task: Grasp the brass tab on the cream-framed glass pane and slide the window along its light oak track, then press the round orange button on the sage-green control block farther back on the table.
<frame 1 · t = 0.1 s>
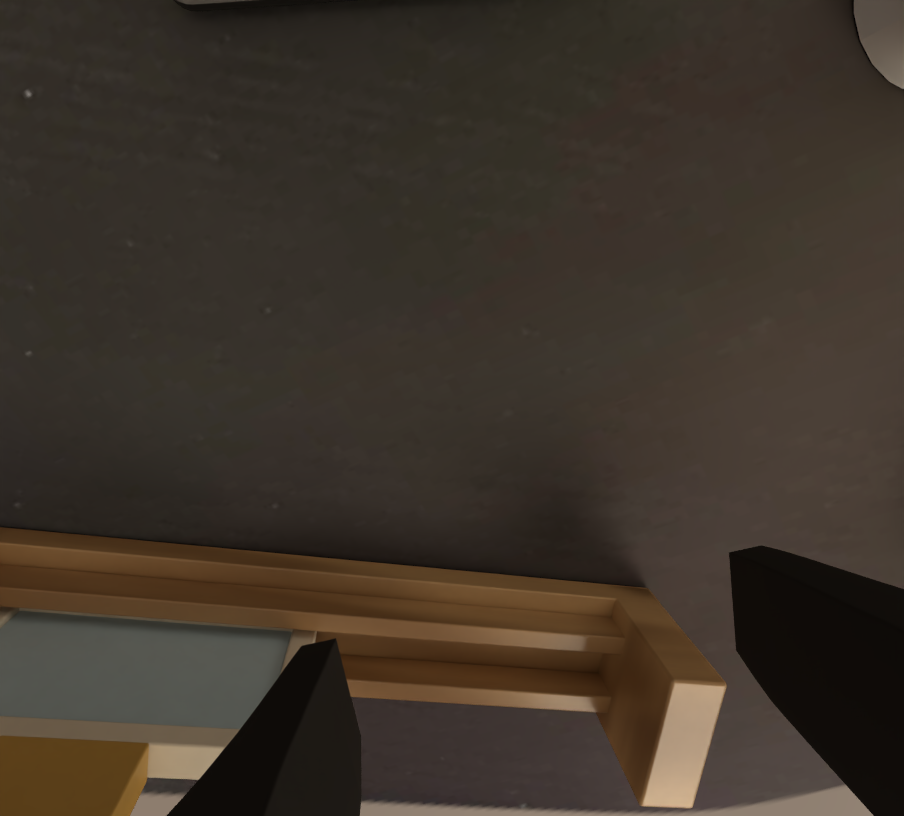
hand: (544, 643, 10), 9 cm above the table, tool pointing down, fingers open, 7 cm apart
window frame: (321, 613, 19), on the table
window pane: (97, 723, 14), point 5 cm above the table, slide at 0.0 cm
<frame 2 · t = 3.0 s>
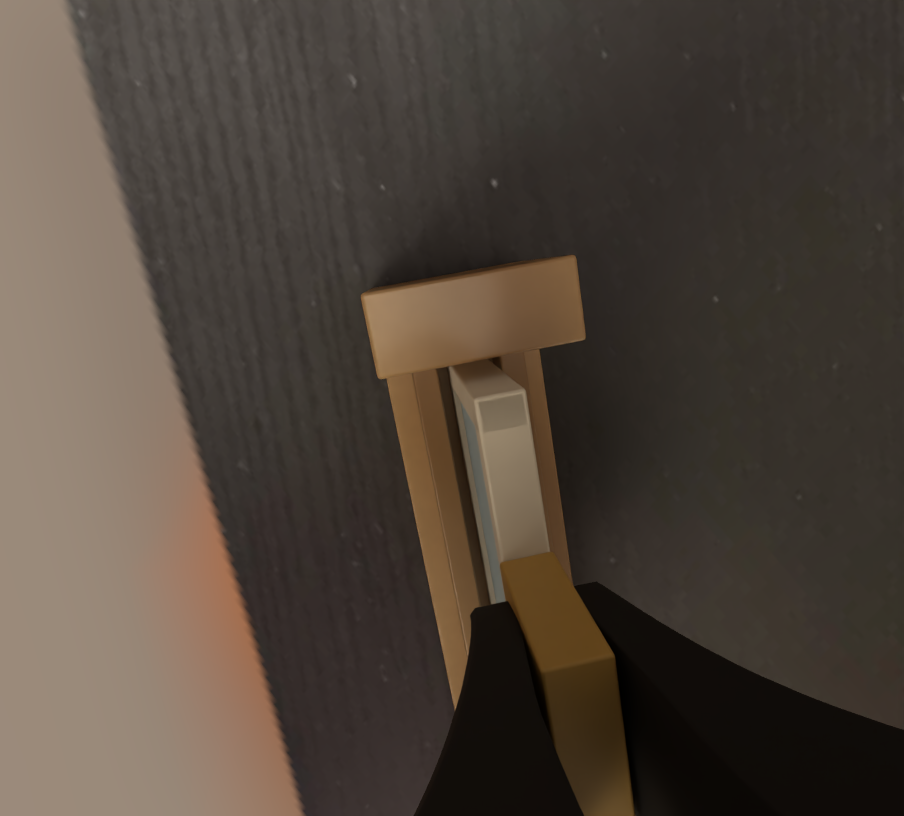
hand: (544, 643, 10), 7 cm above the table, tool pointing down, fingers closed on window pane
window frame: (508, 638, 18), on the table
window pane: (525, 600, 12), point 5 cm above the table, slide at 0.0 cm, touching gripper
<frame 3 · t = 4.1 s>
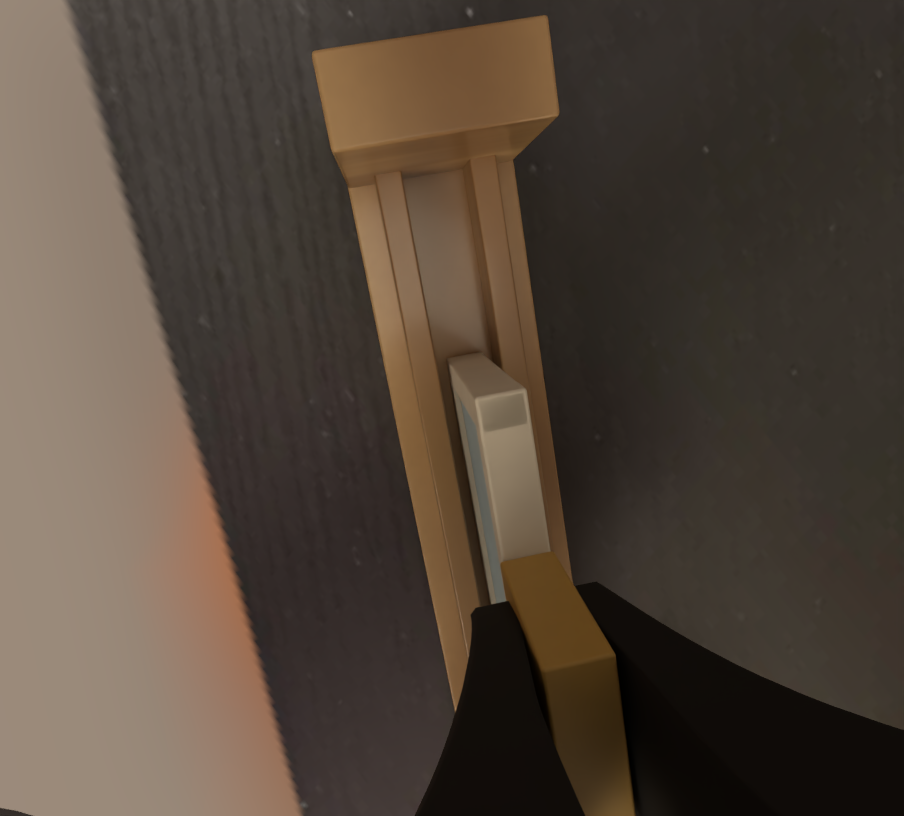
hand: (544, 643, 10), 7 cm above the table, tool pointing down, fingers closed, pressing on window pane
window frame: (487, 520, 17), on the table
window pane: (526, 599, 12), point 5 cm above the table, slide at 3.9 cm, touching gripper
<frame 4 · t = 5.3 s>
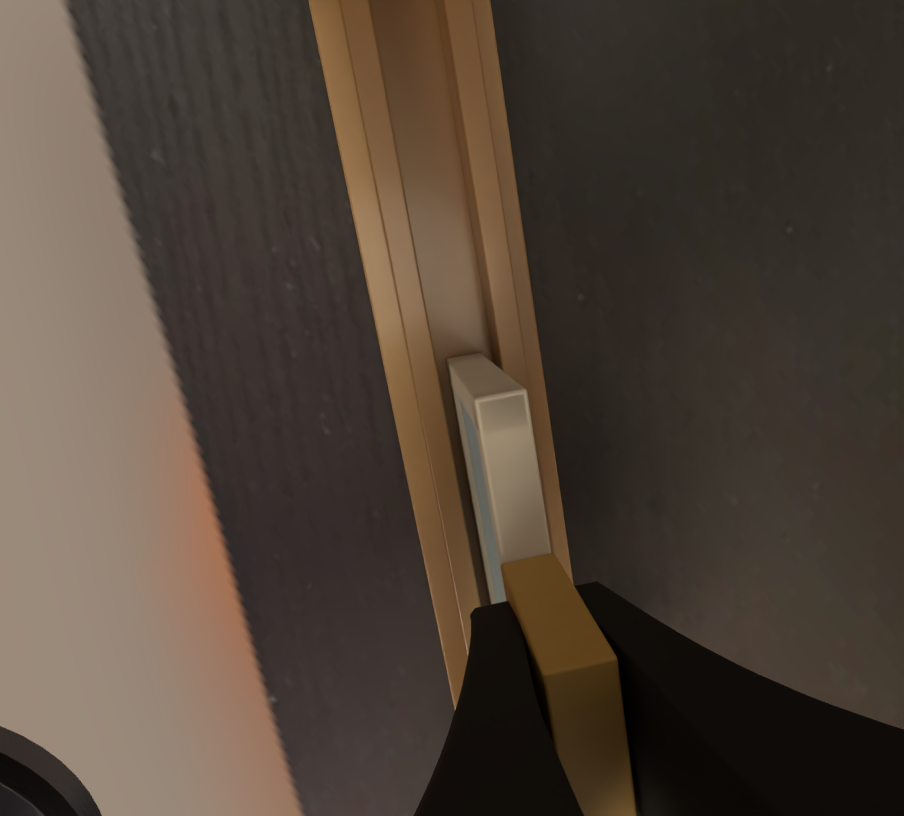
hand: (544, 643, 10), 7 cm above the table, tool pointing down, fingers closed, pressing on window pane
window frame: (464, 386, 16), on the table
window pane: (526, 601, 12), point 5 cm above the table, slide at 7.9 cm, touching gripper
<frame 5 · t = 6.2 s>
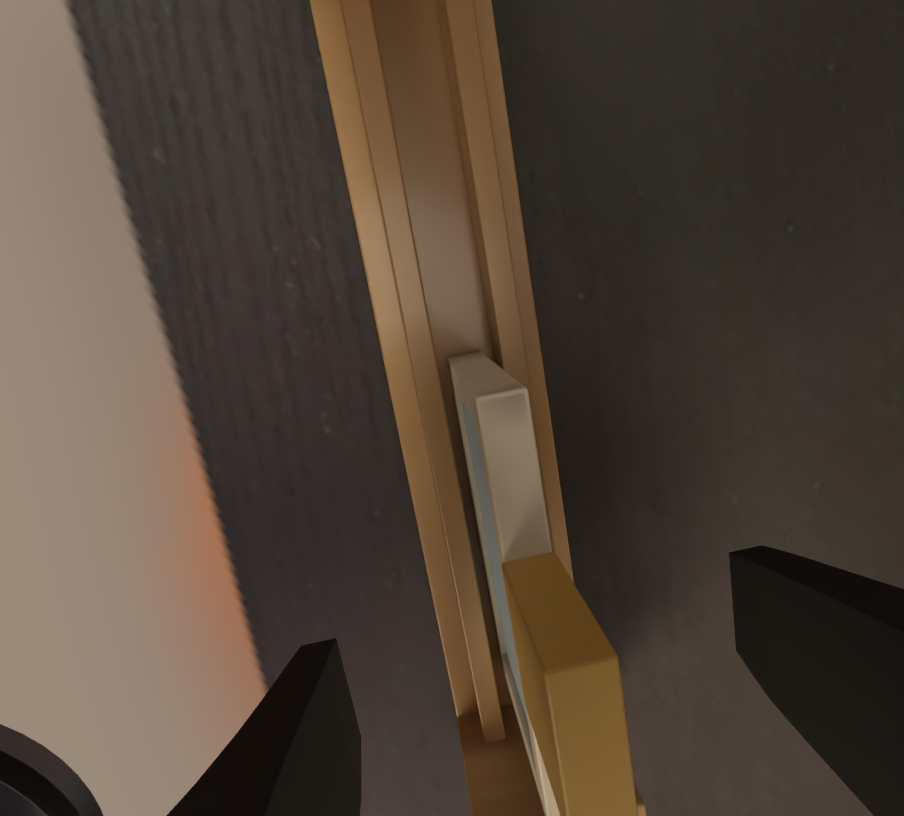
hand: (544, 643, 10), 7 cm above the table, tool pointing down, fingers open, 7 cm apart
window frame: (465, 385, 16), on the table
window pane: (527, 600, 12), point 5 cm above the table, slide at 8.0 cm
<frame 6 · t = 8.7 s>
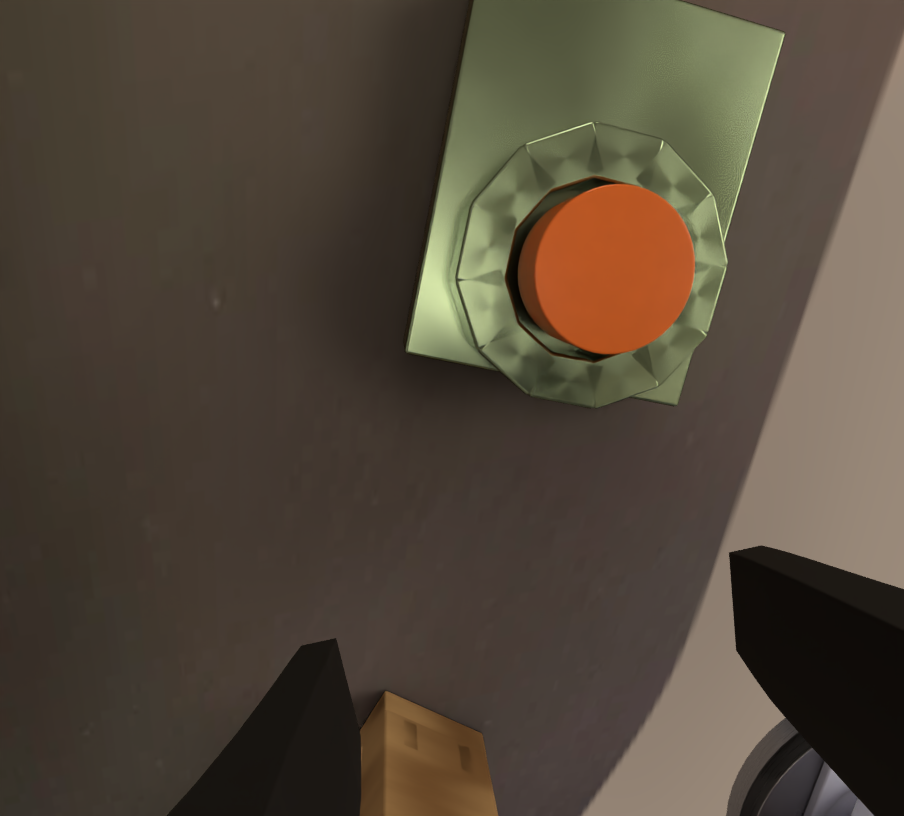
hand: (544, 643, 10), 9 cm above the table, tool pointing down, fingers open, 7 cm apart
control block: (566, 206, 18), on the table
start button: (601, 272, 14), point 4 cm above the table, slide at 0.1 cm
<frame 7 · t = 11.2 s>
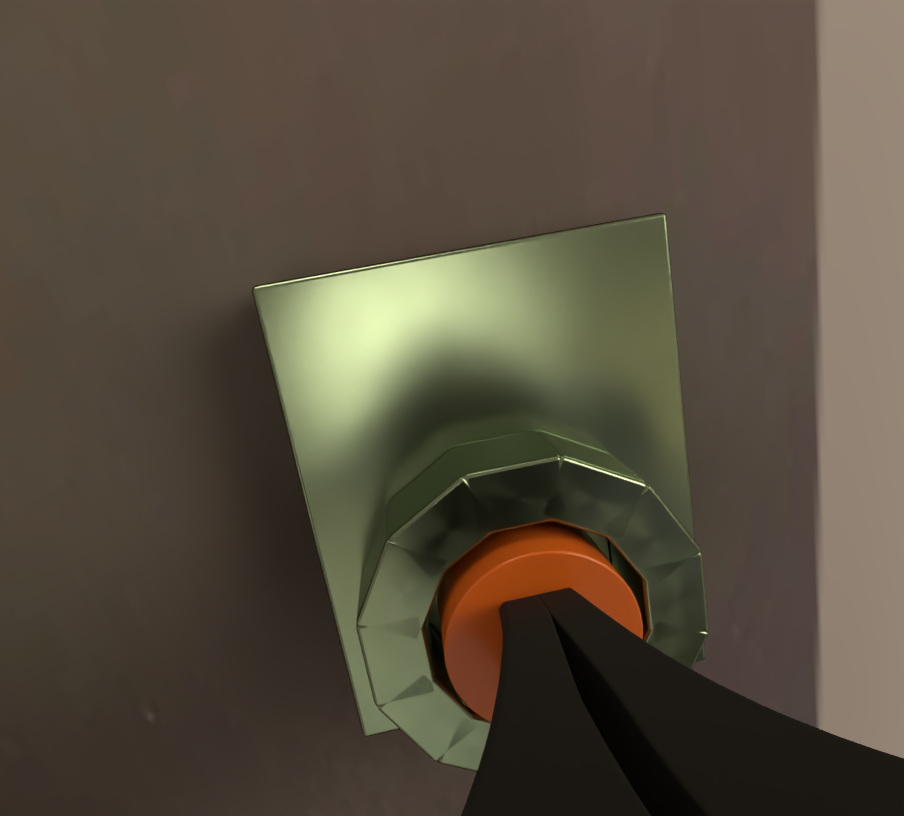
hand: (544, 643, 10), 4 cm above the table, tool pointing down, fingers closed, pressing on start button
control block: (487, 462, 14), on the table
start button: (534, 617, 11), point 4 cm above the table, slide at -0.8 cm, touching gripper
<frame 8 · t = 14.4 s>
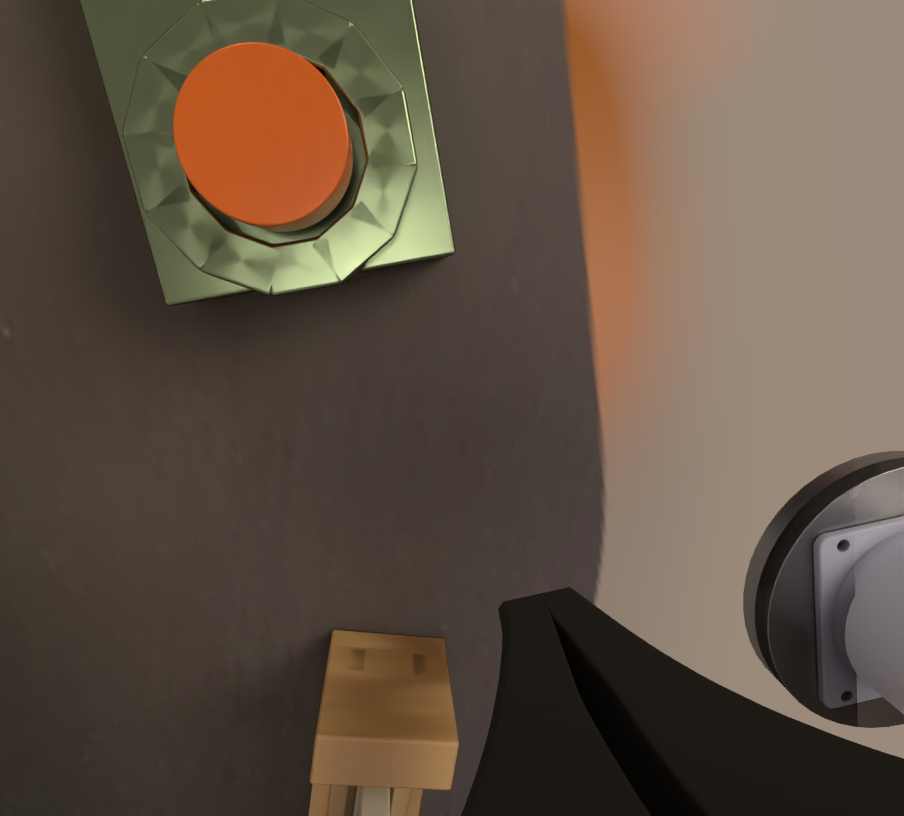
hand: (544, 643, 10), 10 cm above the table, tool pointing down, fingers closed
control block: (283, 106, 17), on the table
start button: (269, 145, 13), point 4 cm above the table, slide at 0.1 cm
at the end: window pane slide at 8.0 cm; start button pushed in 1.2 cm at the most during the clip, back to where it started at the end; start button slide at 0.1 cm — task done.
